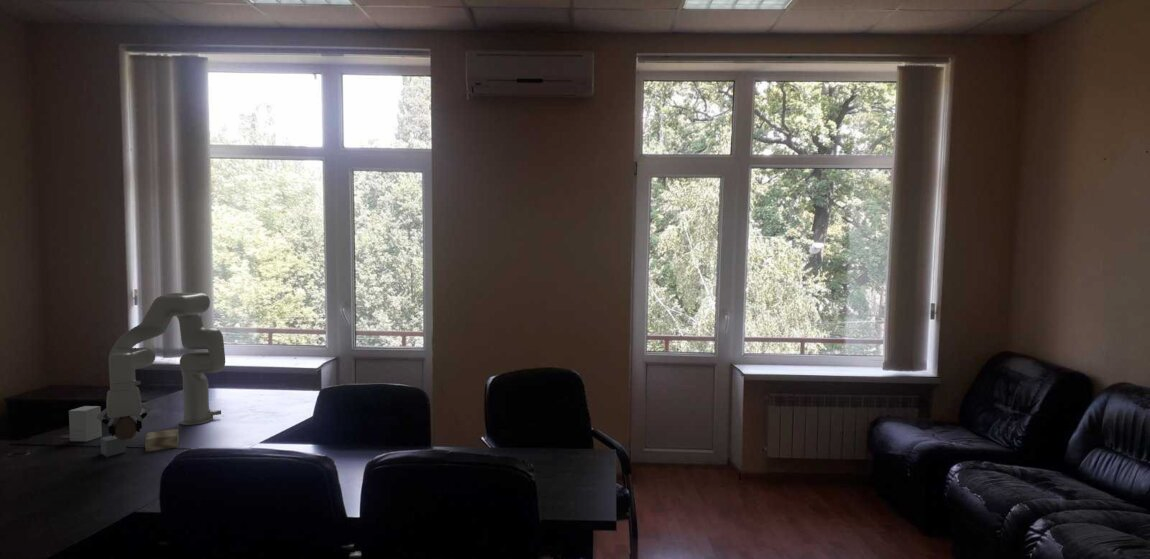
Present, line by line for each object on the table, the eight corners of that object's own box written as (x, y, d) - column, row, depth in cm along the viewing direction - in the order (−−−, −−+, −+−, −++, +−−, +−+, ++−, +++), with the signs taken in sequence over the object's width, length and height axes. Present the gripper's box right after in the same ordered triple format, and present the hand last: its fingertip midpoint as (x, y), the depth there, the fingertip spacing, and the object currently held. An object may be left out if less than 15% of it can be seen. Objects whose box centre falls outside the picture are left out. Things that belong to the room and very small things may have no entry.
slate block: (120, 449, 223) (119, 433, 223) (126, 452, 220) (125, 436, 219) (101, 453, 218) (100, 437, 218) (106, 456, 215) (106, 441, 214)
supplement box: (102, 436, 238) (101, 406, 238) (85, 442, 231) (84, 410, 230) (86, 435, 239) (85, 405, 239) (69, 441, 232) (67, 410, 231)
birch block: (178, 440, 234) (178, 428, 234) (177, 448, 225) (176, 435, 225) (148, 445, 229) (147, 432, 228) (145, 452, 220) (145, 439, 220)
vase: (142, 436, 216) (140, 413, 215) (122, 442, 209) (121, 418, 209) (129, 434, 218) (128, 411, 217) (109, 440, 212) (108, 416, 211)
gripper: (151, 380, 221) (153, 425, 222) (92, 387, 209) (95, 435, 211) (153, 384, 215) (155, 430, 216) (92, 392, 204) (95, 441, 205)
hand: (125, 432), depth 214 cm, fingers closed on vase, 6 cm apart
